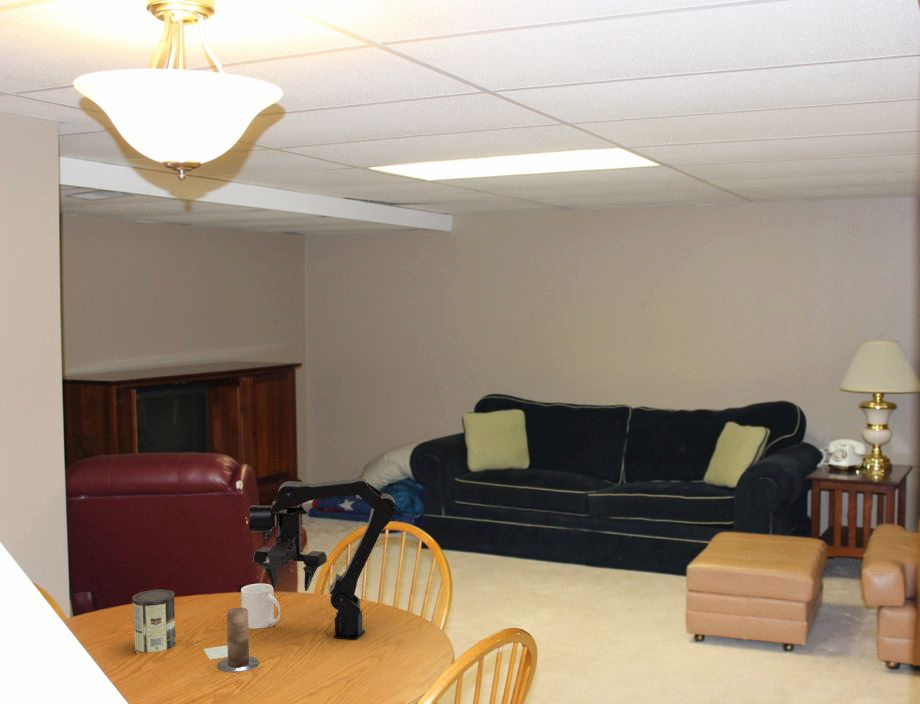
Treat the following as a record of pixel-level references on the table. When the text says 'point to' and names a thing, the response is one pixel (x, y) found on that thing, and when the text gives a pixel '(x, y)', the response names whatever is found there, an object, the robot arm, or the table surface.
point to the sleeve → (237, 637)
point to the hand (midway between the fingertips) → (290, 589)
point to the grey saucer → (224, 667)
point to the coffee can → (154, 620)
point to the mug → (259, 605)
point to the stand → (217, 652)
